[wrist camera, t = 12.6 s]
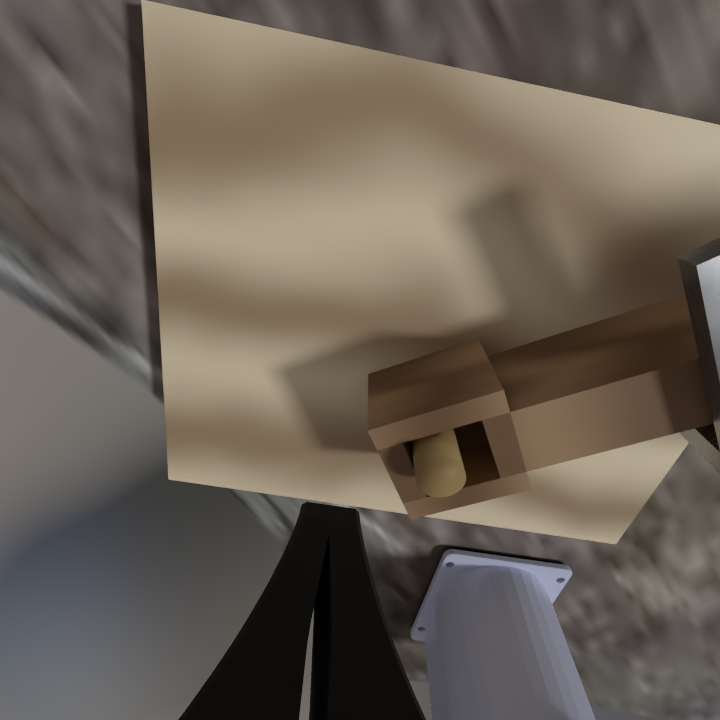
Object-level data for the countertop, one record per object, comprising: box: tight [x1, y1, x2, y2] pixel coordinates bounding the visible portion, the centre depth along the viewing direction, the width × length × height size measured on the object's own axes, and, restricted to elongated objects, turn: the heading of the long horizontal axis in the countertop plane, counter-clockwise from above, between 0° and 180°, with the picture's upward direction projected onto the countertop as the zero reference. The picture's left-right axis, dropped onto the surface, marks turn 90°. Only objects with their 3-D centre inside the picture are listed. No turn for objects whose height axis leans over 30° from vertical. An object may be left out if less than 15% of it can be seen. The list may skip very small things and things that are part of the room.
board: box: [141, 0, 720, 544], centre depth 17 cm, size 20×25×6 cm
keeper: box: [677, 238, 720, 473], centre depth 15 cm, size 10×2×5 cm, turn 30°
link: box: [367, 294, 714, 519], centre depth 17 cm, size 14×5×4 cm, turn 112°
